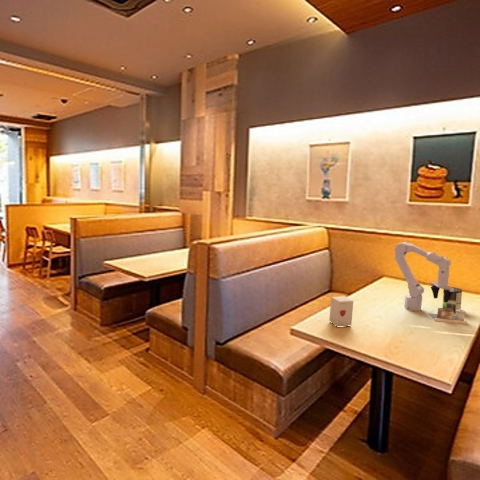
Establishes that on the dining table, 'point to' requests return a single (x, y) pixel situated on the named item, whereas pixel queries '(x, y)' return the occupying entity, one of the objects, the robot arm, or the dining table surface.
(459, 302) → the coffee can
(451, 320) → the shelf board
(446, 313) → the tea box
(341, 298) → the supplement box
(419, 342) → the dining table surface
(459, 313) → the celadon jar
